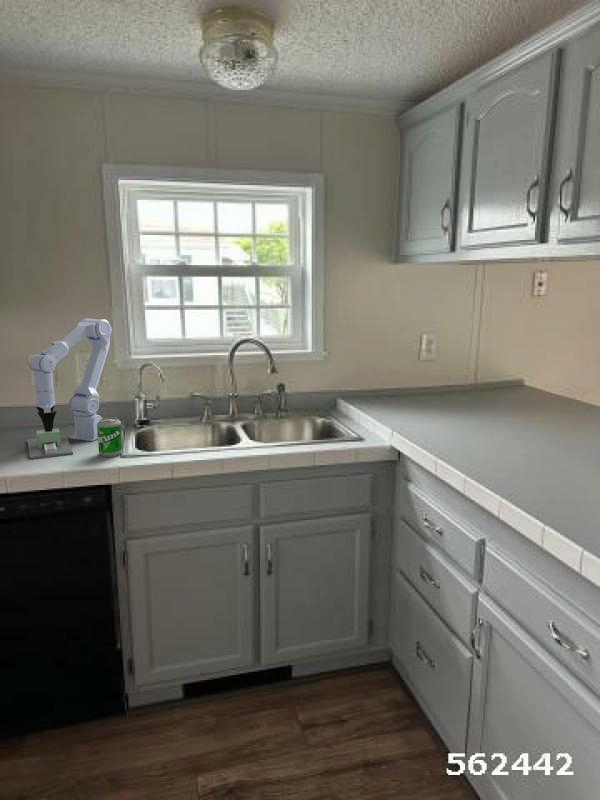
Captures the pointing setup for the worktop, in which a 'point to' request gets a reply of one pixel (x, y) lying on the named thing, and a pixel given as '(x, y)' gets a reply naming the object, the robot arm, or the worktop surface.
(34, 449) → the board
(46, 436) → the module
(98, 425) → the soda can
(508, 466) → the worktop surface
